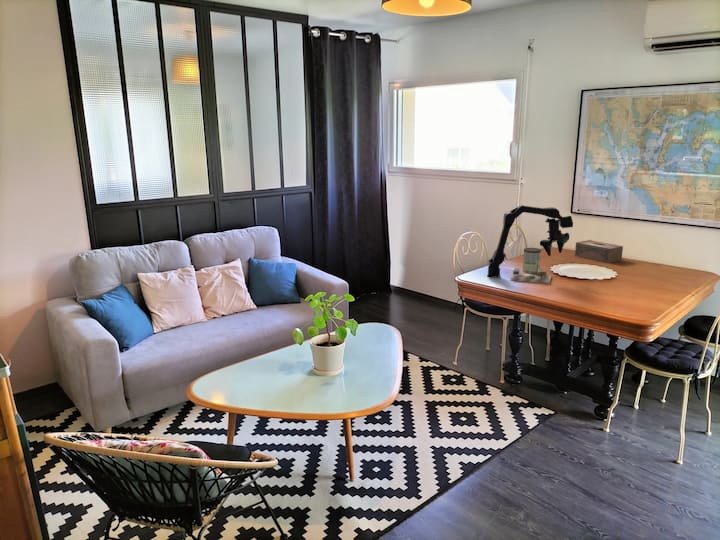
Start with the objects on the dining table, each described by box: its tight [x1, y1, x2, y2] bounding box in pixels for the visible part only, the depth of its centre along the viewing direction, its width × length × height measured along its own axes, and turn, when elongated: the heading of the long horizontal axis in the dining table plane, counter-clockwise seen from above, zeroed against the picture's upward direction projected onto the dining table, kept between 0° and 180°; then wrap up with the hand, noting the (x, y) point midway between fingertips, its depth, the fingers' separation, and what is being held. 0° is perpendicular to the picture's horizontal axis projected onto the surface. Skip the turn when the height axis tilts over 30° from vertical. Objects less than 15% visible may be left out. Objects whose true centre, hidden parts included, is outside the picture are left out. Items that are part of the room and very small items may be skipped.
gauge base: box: [510, 267, 552, 284], centre depth 308 cm, size 22×12×5 cm, turn 69°
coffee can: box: [522, 247, 542, 274], centre depth 324 cm, size 10×10×14 cm
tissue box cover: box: [574, 239, 624, 264], centre depth 355 cm, size 26×14×10 cm, turn 31°
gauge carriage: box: [531, 268, 547, 279], centre depth 305 cm, size 8×10×4 cm
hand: (554, 254), depth 310 cm, fingers open, 9 cm apart
